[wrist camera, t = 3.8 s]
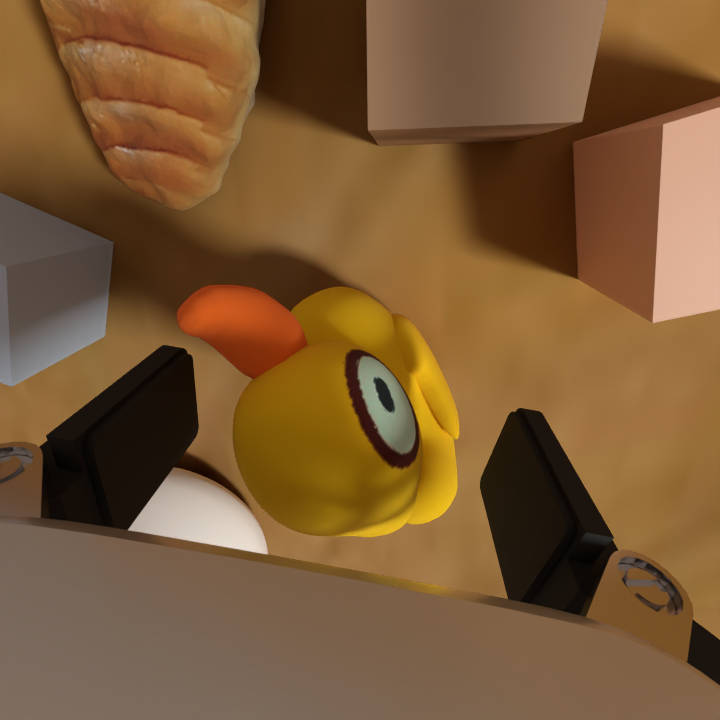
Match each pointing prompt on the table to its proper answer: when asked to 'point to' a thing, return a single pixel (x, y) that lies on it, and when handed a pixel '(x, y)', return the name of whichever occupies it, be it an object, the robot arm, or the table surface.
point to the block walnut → (478, 68)
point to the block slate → (48, 289)
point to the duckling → (333, 409)
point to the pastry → (162, 86)
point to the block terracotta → (652, 212)
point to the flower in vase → (200, 514)
